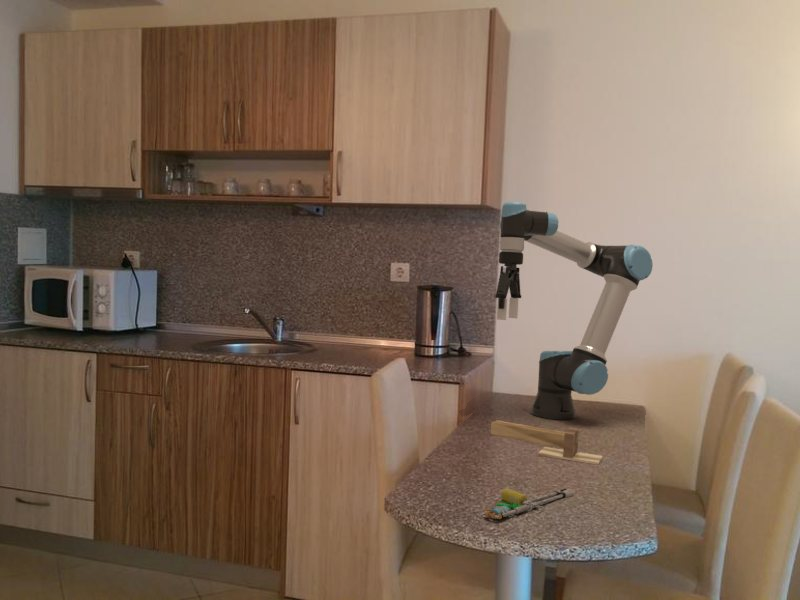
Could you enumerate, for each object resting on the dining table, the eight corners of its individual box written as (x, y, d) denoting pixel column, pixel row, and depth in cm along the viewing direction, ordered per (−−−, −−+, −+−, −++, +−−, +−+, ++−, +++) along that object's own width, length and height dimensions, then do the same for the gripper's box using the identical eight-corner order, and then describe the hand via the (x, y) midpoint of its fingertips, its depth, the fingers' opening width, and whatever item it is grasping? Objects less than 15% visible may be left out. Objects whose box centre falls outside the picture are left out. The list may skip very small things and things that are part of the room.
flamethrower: (464, 512, 138) (506, 529, 131) (466, 499, 138) (507, 515, 131) (542, 488, 159) (581, 501, 152) (543, 476, 159) (582, 489, 152)
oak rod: (496, 433, 212) (496, 420, 212) (572, 447, 200) (572, 433, 199) (490, 435, 209) (491, 422, 209) (567, 449, 196) (568, 435, 196)
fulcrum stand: (544, 449, 194) (545, 424, 194) (602, 457, 188) (604, 432, 187) (537, 455, 187) (539, 429, 187) (598, 464, 180) (600, 438, 180)
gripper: (510, 253, 230) (506, 316, 230) (488, 249, 207) (484, 319, 208) (532, 254, 227) (528, 318, 227) (512, 249, 204) (508, 321, 205)
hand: (507, 319), depth 217 cm, fingers open, 13 cm apart
